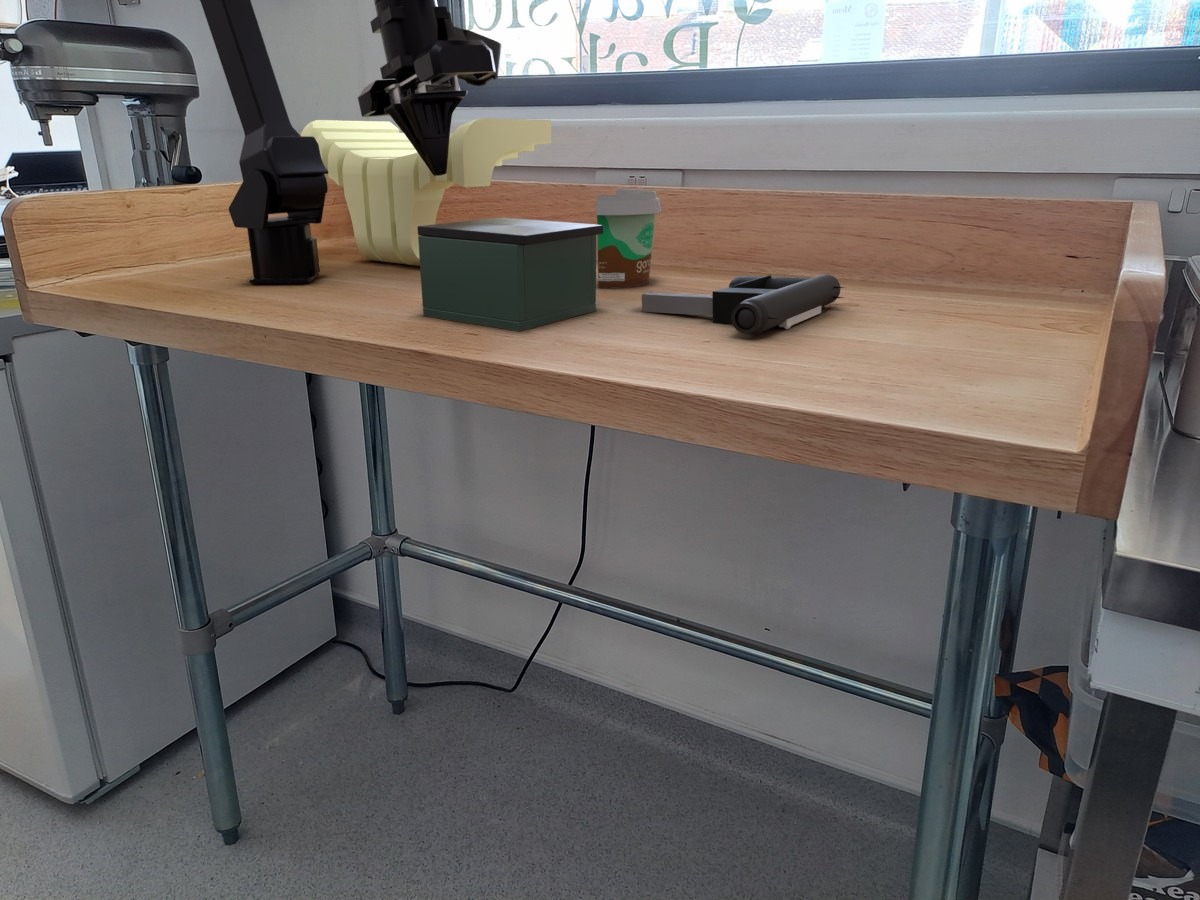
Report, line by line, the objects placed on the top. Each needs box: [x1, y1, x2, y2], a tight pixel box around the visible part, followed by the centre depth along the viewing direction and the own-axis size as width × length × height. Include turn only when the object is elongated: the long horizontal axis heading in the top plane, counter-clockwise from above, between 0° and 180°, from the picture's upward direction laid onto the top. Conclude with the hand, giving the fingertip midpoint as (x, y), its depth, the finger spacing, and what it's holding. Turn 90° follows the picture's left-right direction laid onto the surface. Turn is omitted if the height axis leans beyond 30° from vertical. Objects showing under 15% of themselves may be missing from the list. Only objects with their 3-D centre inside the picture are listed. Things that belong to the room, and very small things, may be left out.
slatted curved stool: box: [300, 117, 552, 267], centre depth 113 cm, size 30×16×18 cm, turn 54°
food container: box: [595, 188, 662, 289], centre depth 97 cm, size 12×6×10 cm, turn 168°
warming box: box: [418, 235, 597, 332], centre depth 80 cm, size 12×12×7 cm
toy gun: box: [641, 273, 845, 335], centre depth 81 cm, size 3×20×16 cm
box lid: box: [418, 217, 604, 245], centre depth 78 cm, size 12×12×1 cm
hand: (440, 175), depth 84 cm, fingers closed
